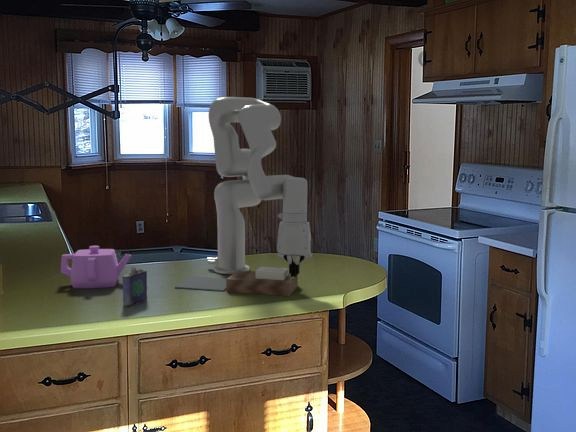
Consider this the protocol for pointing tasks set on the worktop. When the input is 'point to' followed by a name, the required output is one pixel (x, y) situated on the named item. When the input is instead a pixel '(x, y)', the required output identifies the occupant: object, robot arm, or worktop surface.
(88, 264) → the teakettle
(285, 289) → the deck
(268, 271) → the tile
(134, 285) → the flask
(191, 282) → the mat
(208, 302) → the worktop surface
